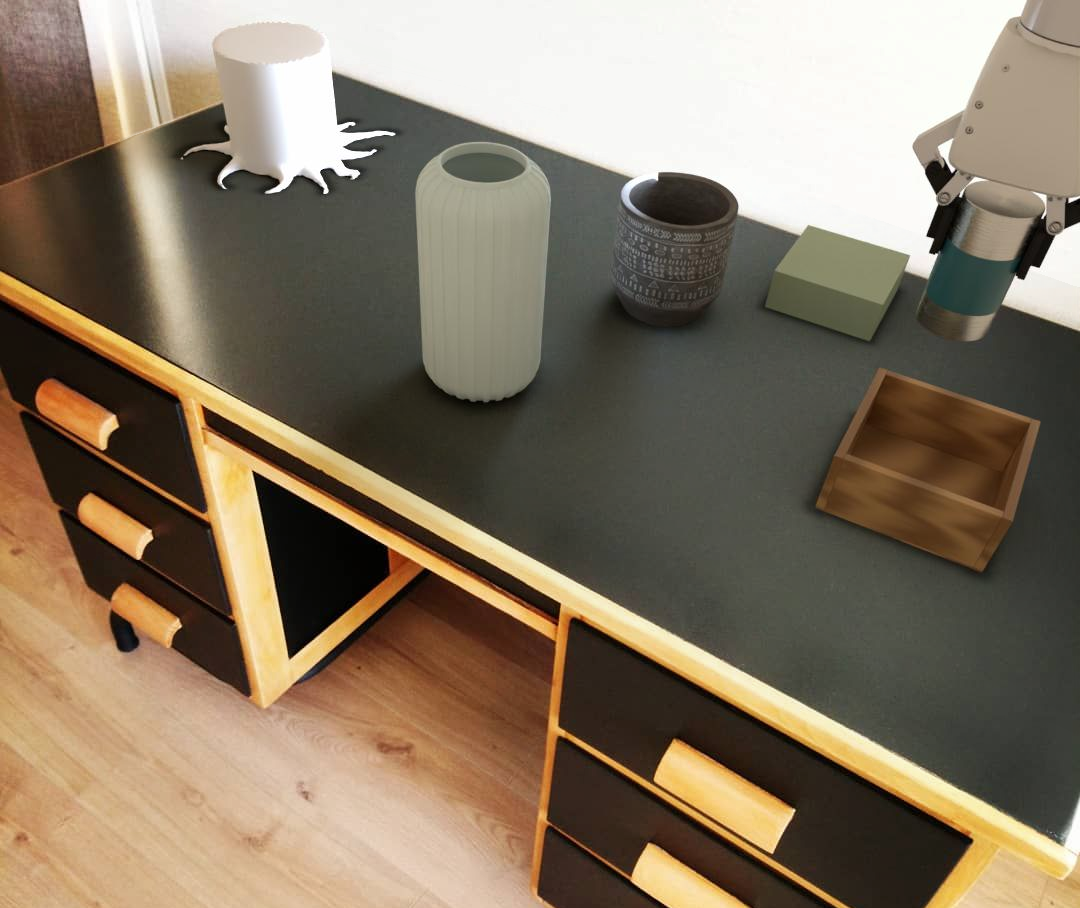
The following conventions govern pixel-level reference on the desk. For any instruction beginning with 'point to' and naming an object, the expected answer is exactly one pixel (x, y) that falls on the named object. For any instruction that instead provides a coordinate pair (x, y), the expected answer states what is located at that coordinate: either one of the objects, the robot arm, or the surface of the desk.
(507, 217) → the vase
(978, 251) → the tea tin
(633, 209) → the planter
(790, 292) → the stand
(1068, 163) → the robot arm
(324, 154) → the white tree stump model
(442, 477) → the desk surface
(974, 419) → the wooden box
